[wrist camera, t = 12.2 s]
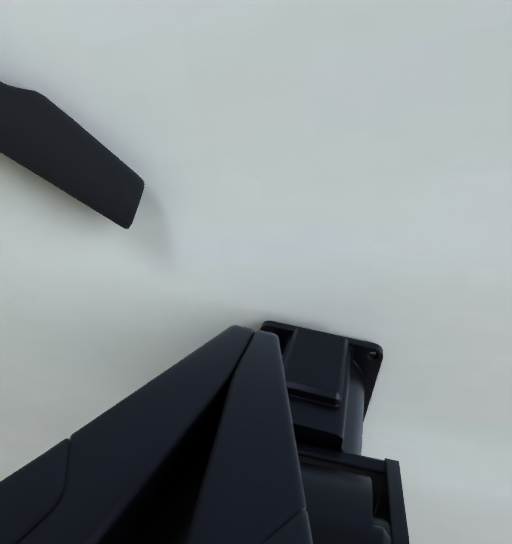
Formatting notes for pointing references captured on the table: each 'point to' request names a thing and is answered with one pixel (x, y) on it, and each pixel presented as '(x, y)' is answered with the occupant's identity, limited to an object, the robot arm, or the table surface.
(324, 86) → the table surface
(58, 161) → the electric trimmer
